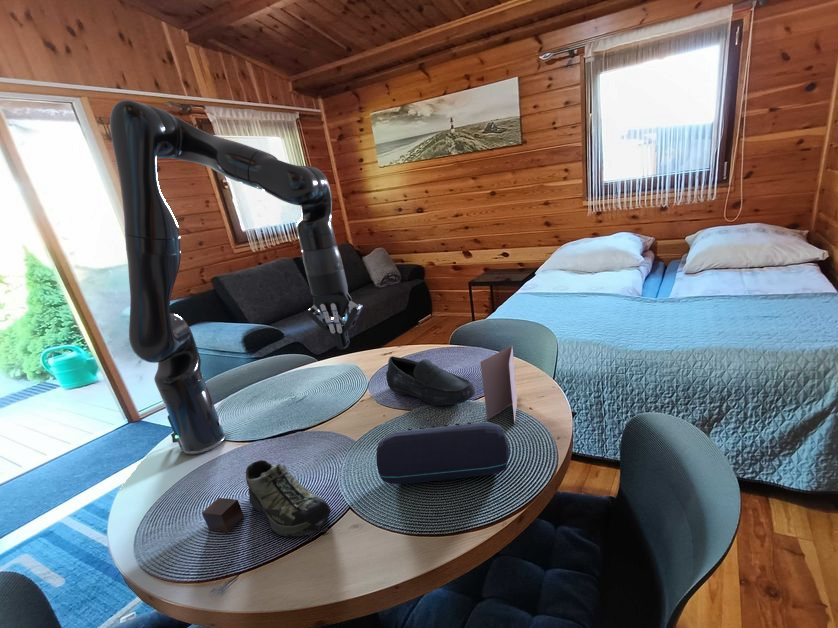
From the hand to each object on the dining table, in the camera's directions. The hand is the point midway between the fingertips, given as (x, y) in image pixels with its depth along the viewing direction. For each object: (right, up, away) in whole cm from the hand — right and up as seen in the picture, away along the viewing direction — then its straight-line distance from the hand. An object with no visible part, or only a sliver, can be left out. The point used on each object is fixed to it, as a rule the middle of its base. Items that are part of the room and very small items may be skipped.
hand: (343, 347), depth 95 cm
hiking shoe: (-6, -31, -15) cm, 35 cm away
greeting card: (+38, -16, +8) cm, 42 cm away
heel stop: (-17, -32, -16) cm, 40 cm away
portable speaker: (+23, -25, -11) cm, 36 cm away
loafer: (+17, -13, +22) cm, 31 cm away
